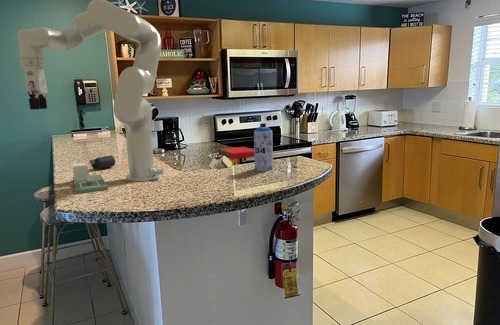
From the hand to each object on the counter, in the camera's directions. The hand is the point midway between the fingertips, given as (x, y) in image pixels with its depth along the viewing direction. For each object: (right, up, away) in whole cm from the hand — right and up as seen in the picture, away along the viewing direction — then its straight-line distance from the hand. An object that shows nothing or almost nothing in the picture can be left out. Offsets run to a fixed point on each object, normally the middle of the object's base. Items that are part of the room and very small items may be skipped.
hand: (39, 109), depth 140 cm
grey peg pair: (+25, -29, -12) cm, 40 cm away
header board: (+23, -29, -8) cm, 38 cm away
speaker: (+20, -20, +27) cm, 39 cm away
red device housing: (+76, -20, +41) cm, 89 cm away
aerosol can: (+88, -25, +7) cm, 92 cm away
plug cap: (+18, -27, -3) cm, 33 cm away
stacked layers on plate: (+68, -24, +18) cm, 75 cm away
